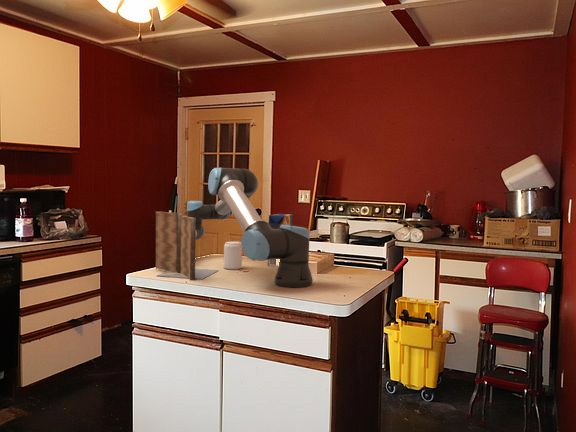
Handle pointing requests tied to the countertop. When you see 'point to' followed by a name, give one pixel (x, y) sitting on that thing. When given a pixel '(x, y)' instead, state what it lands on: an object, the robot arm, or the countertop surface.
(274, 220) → the juice carton
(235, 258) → the beverage can
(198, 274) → the card
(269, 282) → the countertop surface
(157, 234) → the brown wooden board
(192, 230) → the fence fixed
